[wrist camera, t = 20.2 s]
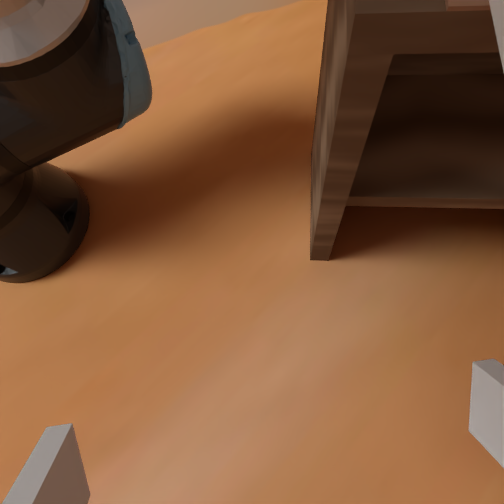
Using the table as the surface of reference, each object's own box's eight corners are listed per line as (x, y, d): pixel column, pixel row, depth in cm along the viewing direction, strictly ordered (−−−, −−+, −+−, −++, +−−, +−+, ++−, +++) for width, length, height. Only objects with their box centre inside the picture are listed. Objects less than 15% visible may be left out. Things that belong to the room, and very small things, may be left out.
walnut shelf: (558, 268, 41) (1160, -14, 13) (310, 260, 44) (355, 9, 15) (533, 155, 46) (932, -231, 18) (311, 153, 48) (348, -186, 20)
